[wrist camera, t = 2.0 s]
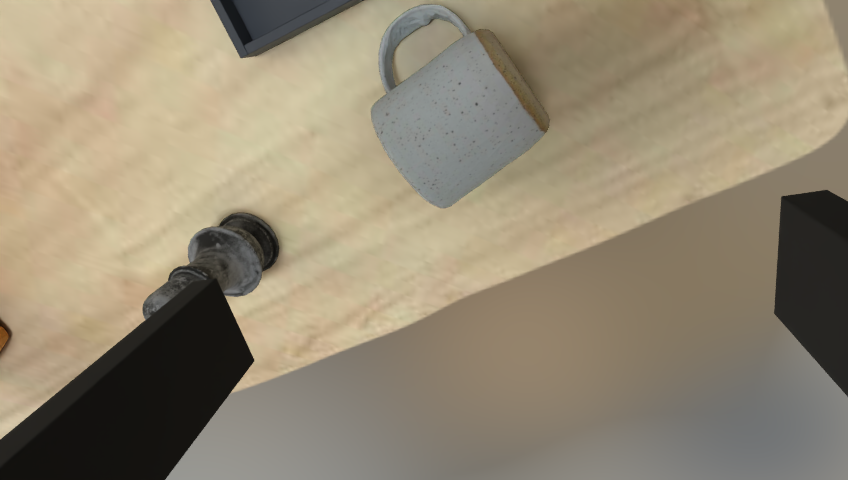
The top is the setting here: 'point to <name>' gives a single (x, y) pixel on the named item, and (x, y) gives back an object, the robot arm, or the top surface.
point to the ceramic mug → (454, 111)
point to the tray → (272, 20)
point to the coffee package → (3, 337)
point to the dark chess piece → (222, 259)
